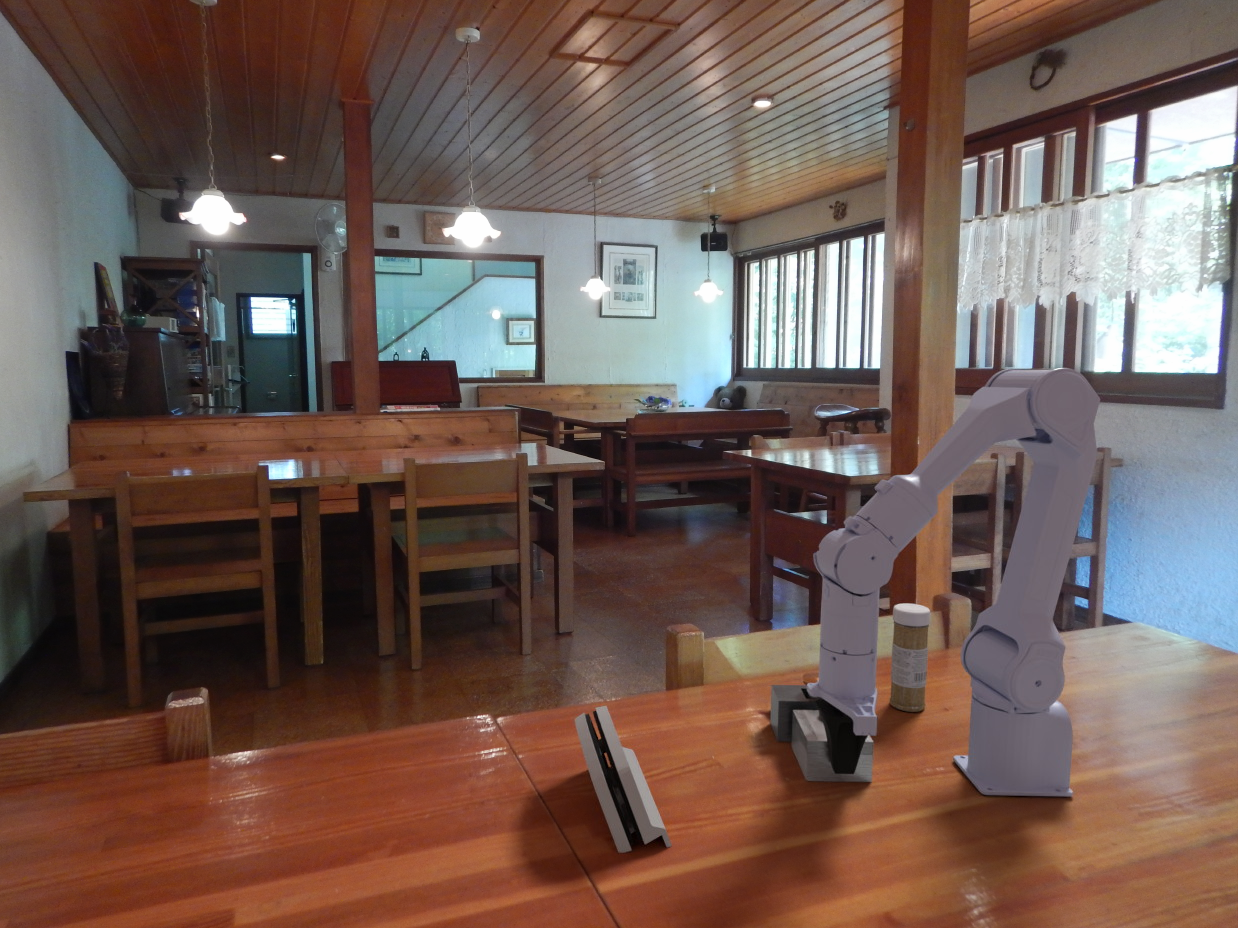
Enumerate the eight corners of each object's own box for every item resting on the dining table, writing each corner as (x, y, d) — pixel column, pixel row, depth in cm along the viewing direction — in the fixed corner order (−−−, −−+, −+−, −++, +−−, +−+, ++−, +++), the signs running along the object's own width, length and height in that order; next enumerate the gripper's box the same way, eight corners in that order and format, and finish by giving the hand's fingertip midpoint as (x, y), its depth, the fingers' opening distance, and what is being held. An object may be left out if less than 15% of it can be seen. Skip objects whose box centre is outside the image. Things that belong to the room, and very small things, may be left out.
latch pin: (833, 718, 95) (834, 683, 95) (804, 718, 95) (805, 682, 95) (826, 707, 99) (827, 672, 98) (799, 706, 99) (800, 672, 98)
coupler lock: (871, 781, 86) (873, 736, 85) (806, 780, 86) (807, 735, 85) (851, 747, 94) (853, 705, 93) (791, 746, 94) (792, 704, 93)
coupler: (873, 760, 90) (875, 718, 90) (784, 759, 91) (785, 716, 90) (839, 707, 105) (841, 670, 104) (763, 705, 105) (764, 669, 105)
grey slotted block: (673, 848, 73) (637, 753, 72) (625, 869, 73) (588, 774, 71) (637, 762, 90) (608, 683, 88) (598, 778, 89) (568, 699, 87)
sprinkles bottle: (912, 697, 108) (917, 601, 107) (932, 711, 104) (937, 611, 102) (882, 700, 107) (886, 603, 106) (901, 714, 103) (905, 613, 101)
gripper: (795, 624, 90) (791, 739, 91) (826, 671, 76) (821, 807, 77) (858, 624, 90) (853, 740, 91) (901, 672, 75) (894, 808, 77)
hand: (843, 771), depth 84 cm, fingers closed
